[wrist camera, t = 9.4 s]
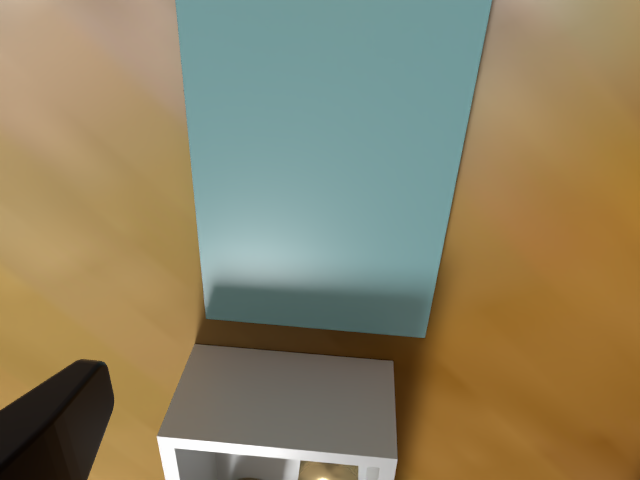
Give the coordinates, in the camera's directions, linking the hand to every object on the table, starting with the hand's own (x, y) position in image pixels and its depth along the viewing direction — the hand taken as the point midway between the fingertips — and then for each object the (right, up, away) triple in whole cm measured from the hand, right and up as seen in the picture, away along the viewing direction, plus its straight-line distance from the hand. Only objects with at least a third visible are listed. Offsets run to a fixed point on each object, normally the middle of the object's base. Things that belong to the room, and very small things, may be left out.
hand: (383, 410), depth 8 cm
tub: (-2, -8, +19) cm, 21 cm away
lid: (-1, +7, +10) cm, 12 cm away
